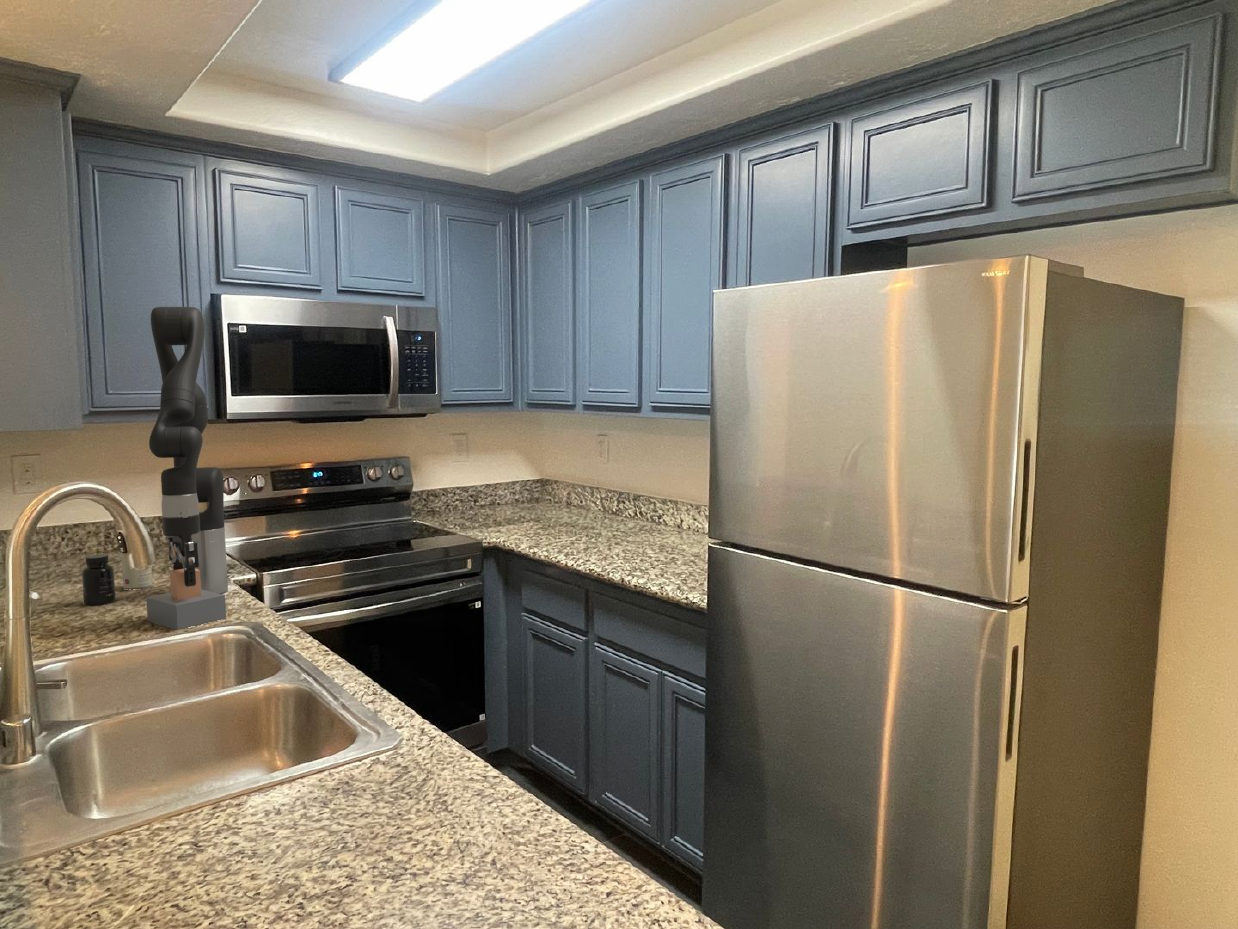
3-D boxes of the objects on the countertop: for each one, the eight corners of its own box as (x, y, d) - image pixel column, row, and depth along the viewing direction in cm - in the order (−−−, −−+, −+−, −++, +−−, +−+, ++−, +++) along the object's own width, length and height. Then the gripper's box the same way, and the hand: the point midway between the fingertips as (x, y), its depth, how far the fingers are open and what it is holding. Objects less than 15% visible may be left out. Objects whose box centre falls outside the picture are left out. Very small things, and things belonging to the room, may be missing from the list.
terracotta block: (171, 596, 185) (169, 570, 185) (194, 592, 188) (193, 567, 188) (177, 600, 181) (175, 574, 181) (201, 596, 185) (199, 570, 184)
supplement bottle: (77, 605, 200) (73, 558, 199) (101, 598, 207) (98, 553, 206) (97, 607, 198) (94, 559, 197) (122, 600, 205) (119, 554, 204)
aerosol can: (139, 584, 222) (134, 513, 221) (158, 585, 220) (154, 514, 219) (117, 590, 216) (112, 517, 214) (137, 591, 214) (132, 517, 212)
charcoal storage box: (147, 622, 185) (146, 597, 184) (195, 611, 194) (194, 587, 193) (177, 632, 177) (176, 605, 176) (226, 620, 186) (224, 595, 185)
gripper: (154, 512, 186) (158, 580, 187) (171, 518, 176) (175, 591, 177) (189, 509, 191) (193, 575, 192) (208, 514, 181) (212, 585, 182)
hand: (184, 583), depth 185 cm, fingers open, 8 cm apart
